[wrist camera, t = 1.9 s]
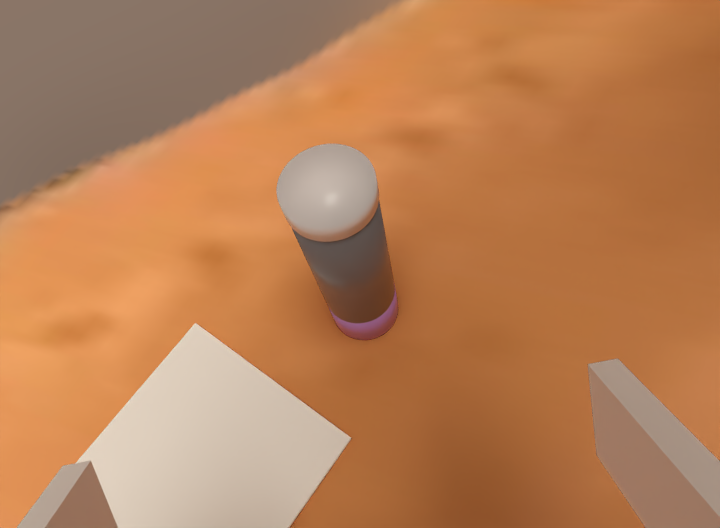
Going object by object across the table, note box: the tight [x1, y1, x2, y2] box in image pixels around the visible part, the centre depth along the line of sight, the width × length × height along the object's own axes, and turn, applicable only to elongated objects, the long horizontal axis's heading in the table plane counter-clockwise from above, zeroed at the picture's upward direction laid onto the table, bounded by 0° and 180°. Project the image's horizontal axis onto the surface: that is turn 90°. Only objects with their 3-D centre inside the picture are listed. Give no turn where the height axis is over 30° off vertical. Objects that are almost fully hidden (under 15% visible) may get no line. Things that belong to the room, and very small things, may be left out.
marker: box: [277, 144, 398, 340], centre depth 26 cm, size 4×4×12 cm
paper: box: [76, 323, 352, 528], centre depth 29 cm, size 14×11×1 cm
